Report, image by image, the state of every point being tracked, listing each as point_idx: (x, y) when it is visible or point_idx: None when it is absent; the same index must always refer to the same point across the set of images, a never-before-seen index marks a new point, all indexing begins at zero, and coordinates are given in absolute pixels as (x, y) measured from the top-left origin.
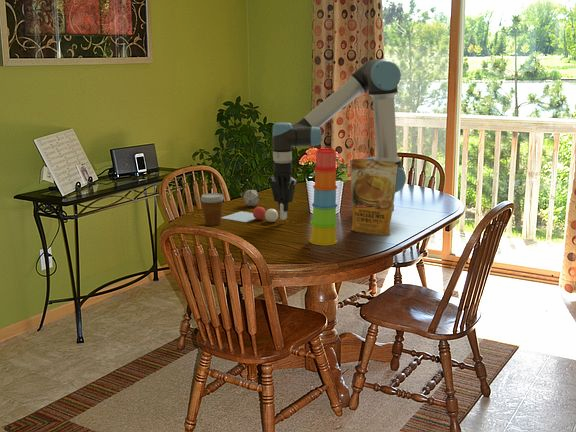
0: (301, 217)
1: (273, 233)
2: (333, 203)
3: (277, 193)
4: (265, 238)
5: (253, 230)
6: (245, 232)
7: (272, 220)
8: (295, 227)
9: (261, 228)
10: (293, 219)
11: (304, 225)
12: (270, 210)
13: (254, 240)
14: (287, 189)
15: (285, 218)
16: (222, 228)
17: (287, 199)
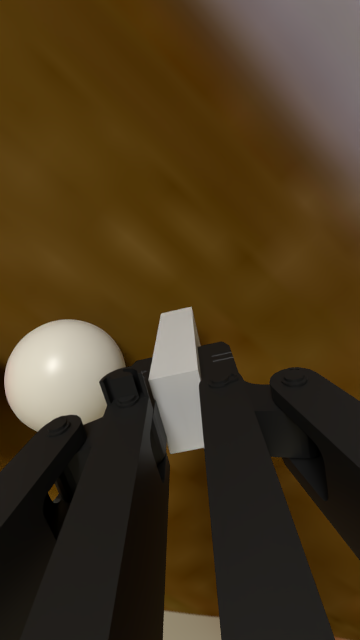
0: (123, 53)
1: (318, 507)
2: None
3: (34, 538)
4: (352, 580)
5: (182, 537)
6: (184, 579)
7: None
8: (331, 337)
9: (179, 489)
10: (134, 173)
11: (348, 249)
12: None
13: (333, 622)
14: (323, 624)
15: (196, 328)
16: None
17: (312, 481)
